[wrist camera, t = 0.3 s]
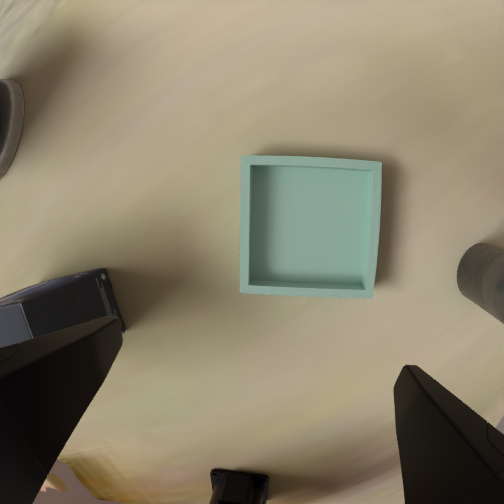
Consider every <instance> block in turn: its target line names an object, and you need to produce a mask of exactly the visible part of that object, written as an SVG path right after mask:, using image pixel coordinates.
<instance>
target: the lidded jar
mask: <svg viewBox="0 0 504 504" xmlns="http://www.w3.org/2000/svg"><path fill="white" fill-rule="evenodd" d="M457 283H458V287H459V290H460V291H461V293H462V294H463V295H464V296H465V297H467V298H468V299H469V300H471V301H472V302H474V303H475V304H477V305H478V306H479V307H481V308H482V309H484V310H485V311H487V312H488V313H489V314H491V315H492V316H493V317H495V318H496V319H498V320H499V321H500V322H502V323H503V324H504V250H502V249H499V248H496V247H493V246H490V245H487V244H483V243H480V244H476V245H474V246H472V247H471V248H469V249H468V250H467V251H466V252H465V254H464V255H463V257H462V259H461V261H460V263H459V266H458V271H457Z"/></svg>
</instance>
